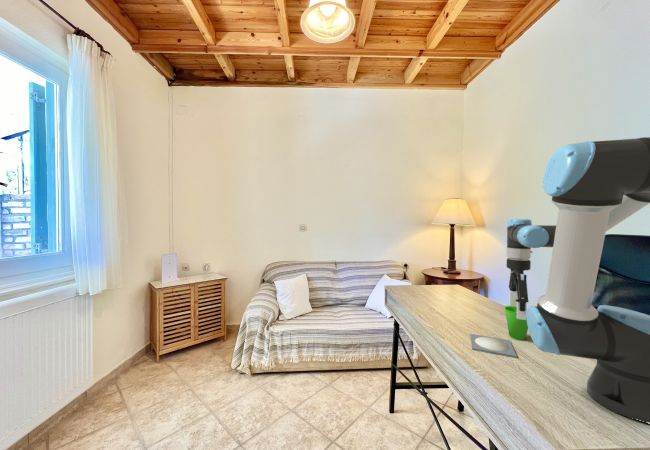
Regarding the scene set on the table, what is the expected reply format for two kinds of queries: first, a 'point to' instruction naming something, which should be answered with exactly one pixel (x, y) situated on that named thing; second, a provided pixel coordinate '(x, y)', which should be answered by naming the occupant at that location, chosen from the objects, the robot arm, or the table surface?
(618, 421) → the table surface
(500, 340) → the coaster
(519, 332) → the cup
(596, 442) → the table surface
